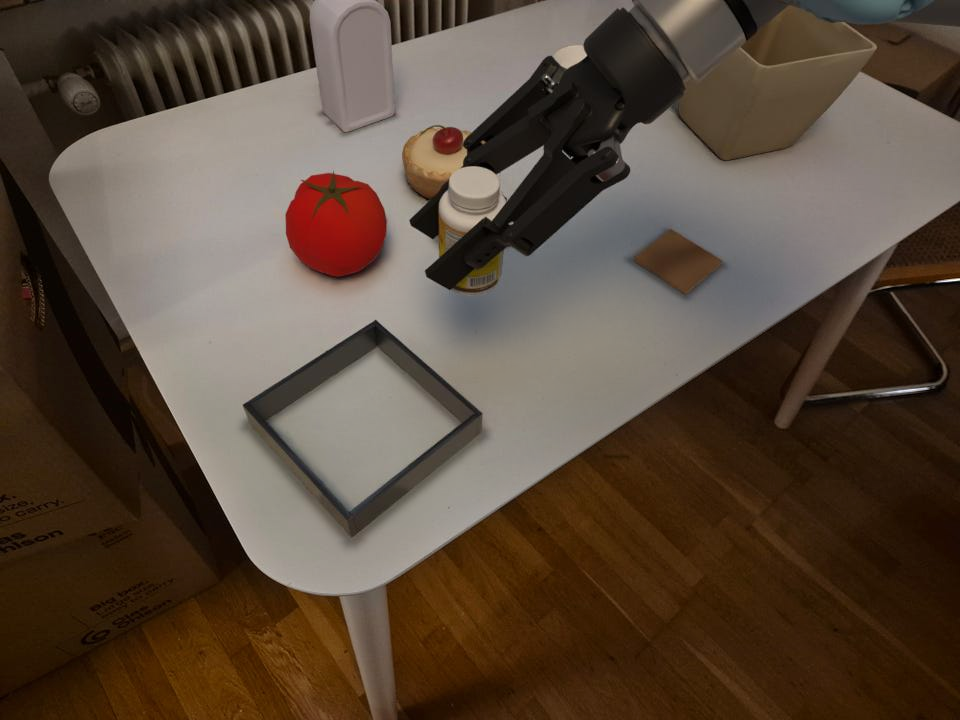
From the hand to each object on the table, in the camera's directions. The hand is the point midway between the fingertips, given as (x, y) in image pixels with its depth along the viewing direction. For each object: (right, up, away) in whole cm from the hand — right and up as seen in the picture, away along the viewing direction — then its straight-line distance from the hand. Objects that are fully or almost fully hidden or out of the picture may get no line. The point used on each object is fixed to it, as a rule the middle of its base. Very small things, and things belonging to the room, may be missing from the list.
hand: (429, 254), depth 56 cm
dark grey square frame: (-7, -16, +11) cm, 20 cm away
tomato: (-13, +3, +25) cm, 28 cm away
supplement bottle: (+3, -2, +3) cm, 5 cm away
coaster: (+29, +3, +28) cm, 41 cm away
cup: (+19, +28, +47) cm, 57 cm away
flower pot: (+43, +26, +47) cm, 69 cm away
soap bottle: (-14, +28, +45) cm, 54 cm away
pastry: (0, +16, +36) cm, 39 cm away
